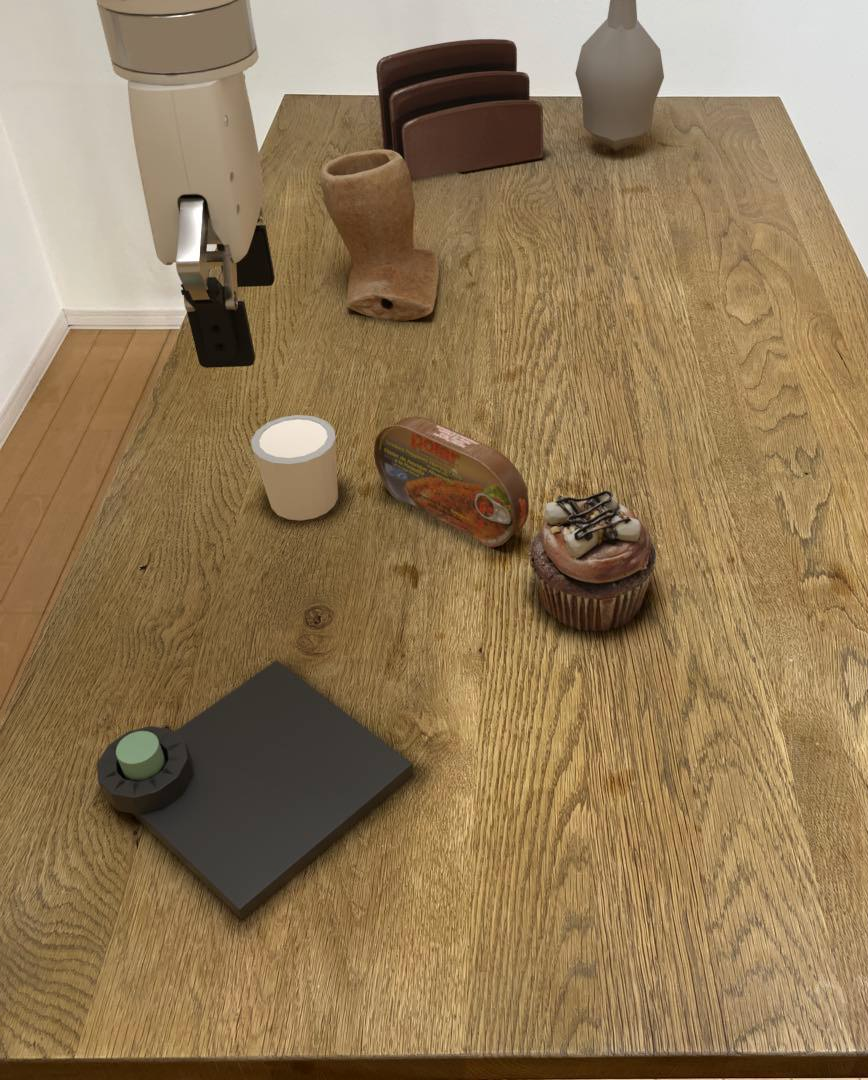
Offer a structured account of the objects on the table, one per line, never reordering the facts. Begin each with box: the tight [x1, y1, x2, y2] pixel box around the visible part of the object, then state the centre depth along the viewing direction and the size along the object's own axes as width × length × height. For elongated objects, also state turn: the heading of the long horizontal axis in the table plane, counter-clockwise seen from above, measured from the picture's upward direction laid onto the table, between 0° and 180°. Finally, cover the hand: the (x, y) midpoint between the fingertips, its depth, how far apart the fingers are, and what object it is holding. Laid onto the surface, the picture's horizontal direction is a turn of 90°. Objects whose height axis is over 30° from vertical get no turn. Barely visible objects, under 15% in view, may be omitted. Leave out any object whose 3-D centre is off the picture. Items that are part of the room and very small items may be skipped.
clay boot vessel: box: [319, 148, 440, 322], centre depth 118 cm, size 15×12×15 cm
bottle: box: [575, 0, 665, 152], centre depth 144 cm, size 11×11×30 cm
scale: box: [96, 660, 414, 921], centre depth 72 cm, size 15×15×4 cm
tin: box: [373, 415, 530, 548], centre depth 91 cm, size 15×3×8 cm, turn 53°
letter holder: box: [375, 38, 545, 180], centre depth 147 cm, size 10×20×14 cm, turn 114°
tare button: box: [116, 731, 165, 781], centre depth 70 cm, size 3×3×2 cm
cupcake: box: [528, 490, 658, 633], centre depth 83 cm, size 10×10×10 cm
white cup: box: [250, 414, 339, 521], centre depth 93 cm, size 7×7×7 cm
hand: (240, 322), depth 69 cm, fingers open, 9 cm apart
